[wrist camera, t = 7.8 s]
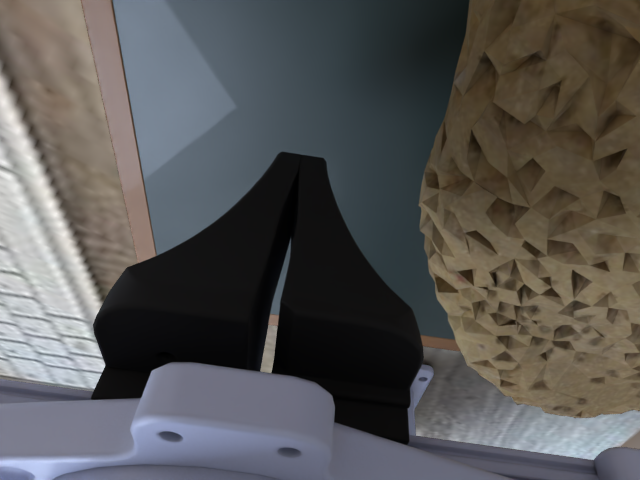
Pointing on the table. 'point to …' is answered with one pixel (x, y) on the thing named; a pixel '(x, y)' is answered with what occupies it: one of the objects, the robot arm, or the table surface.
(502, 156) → the sponge
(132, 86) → the chalkboard
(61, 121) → the table surface
